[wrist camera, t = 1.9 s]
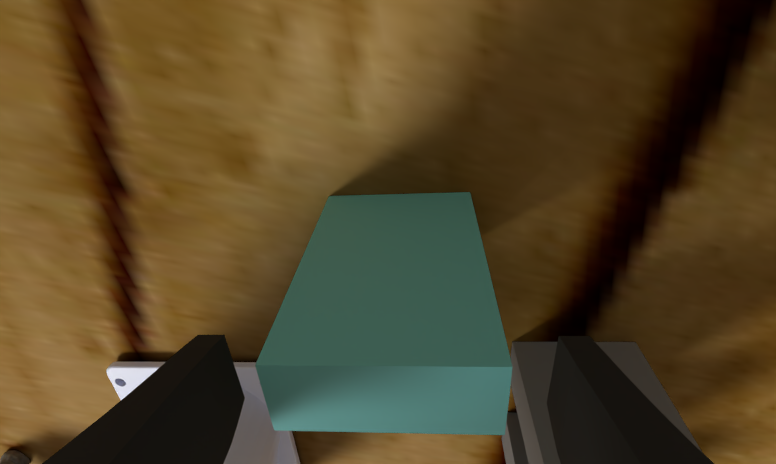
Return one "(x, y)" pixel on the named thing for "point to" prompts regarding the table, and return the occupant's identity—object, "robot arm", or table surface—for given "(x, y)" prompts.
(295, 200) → the table surface
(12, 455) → the rhino figurine
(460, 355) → the teal domino
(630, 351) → the grey domino block
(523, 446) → the gray domino
